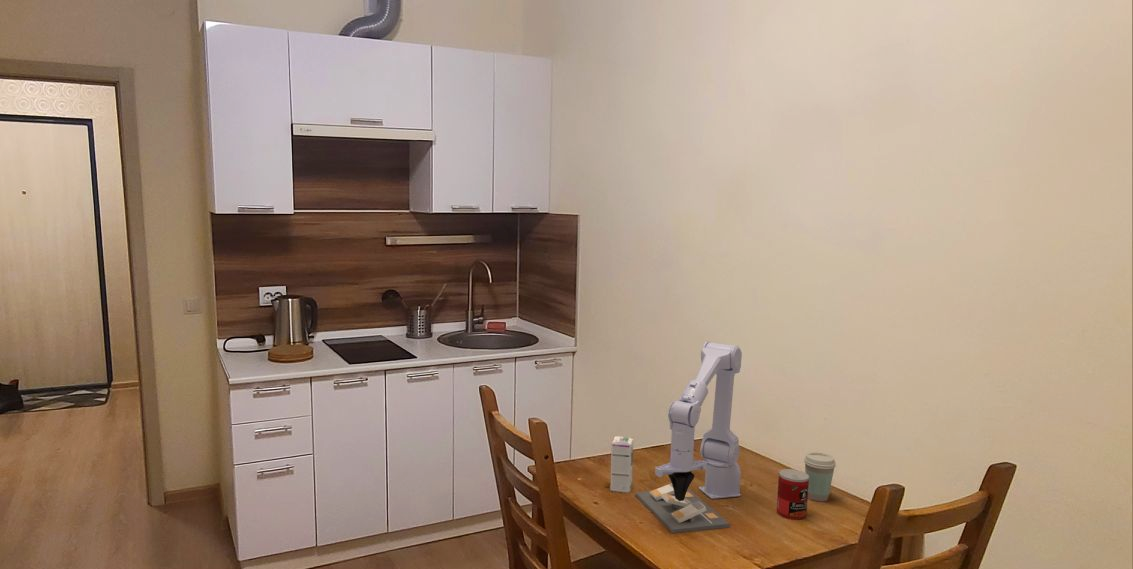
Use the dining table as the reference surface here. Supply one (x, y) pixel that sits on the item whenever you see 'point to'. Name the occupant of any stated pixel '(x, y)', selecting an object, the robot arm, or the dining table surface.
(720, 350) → the robot arm
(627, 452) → the syrup box
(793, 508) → the canned food
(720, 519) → the switch unit
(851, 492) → the dining table surface
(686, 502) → the rocker
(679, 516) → the rocker
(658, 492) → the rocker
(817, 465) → the coffee cup
